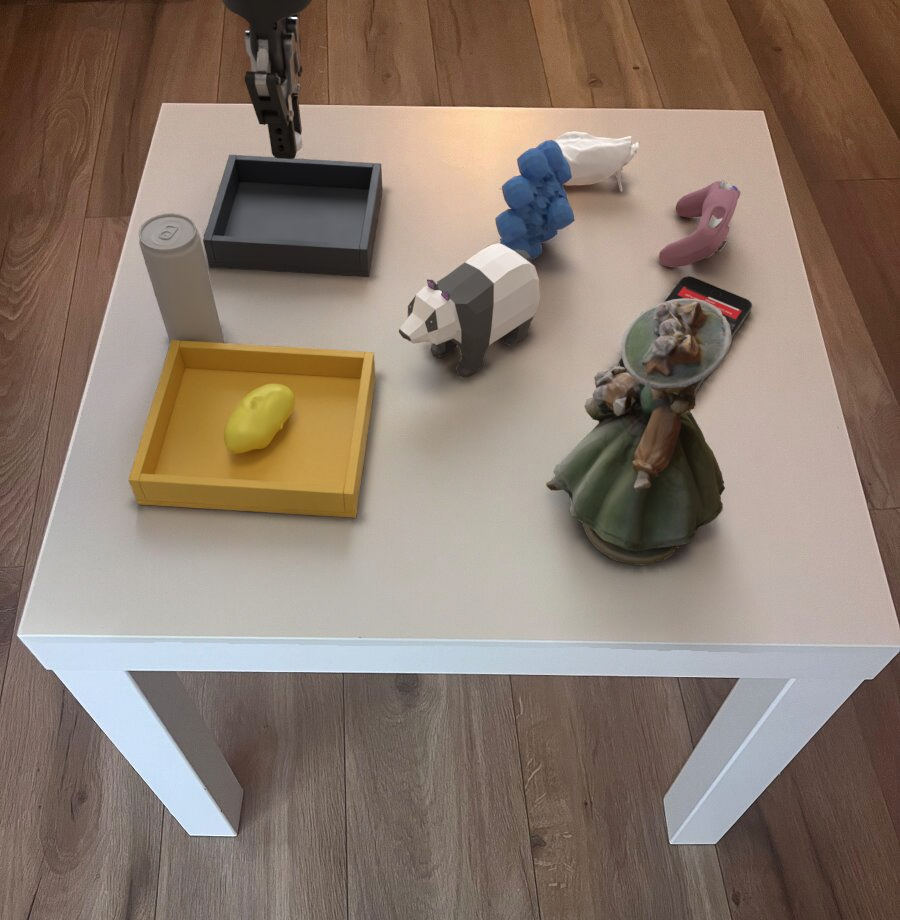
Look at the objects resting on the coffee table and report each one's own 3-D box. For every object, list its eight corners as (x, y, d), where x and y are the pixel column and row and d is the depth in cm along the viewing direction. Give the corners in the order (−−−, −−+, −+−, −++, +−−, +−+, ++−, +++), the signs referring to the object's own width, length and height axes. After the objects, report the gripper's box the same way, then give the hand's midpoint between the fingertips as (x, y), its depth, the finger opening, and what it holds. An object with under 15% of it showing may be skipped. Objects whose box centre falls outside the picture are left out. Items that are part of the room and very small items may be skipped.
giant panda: (499, 301, 87) (507, 213, 79) (541, 332, 85) (554, 244, 77) (383, 375, 82) (379, 288, 74) (425, 409, 80) (425, 324, 71)
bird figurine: (607, 173, 100) (522, 156, 97) (636, 122, 94) (546, 102, 91) (613, 208, 99) (526, 192, 96) (643, 159, 92) (551, 140, 90)
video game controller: (688, 289, 91) (738, 242, 85) (652, 262, 90) (700, 213, 84) (706, 229, 96) (754, 182, 90) (672, 203, 95) (719, 154, 89)
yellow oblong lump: (311, 415, 78) (306, 382, 75) (249, 474, 75) (241, 442, 71) (273, 394, 79) (267, 361, 76) (210, 451, 76) (201, 419, 72)
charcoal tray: (209, 267, 89) (202, 240, 86) (234, 181, 96) (229, 154, 93) (368, 276, 89) (367, 249, 86) (382, 190, 96) (381, 163, 93)
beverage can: (162, 357, 82) (125, 243, 72) (186, 322, 85) (153, 207, 74) (211, 369, 82) (181, 256, 71) (234, 333, 84) (207, 219, 74)
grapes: (536, 307, 87) (551, 194, 77) (476, 280, 89) (483, 166, 78) (593, 242, 92) (614, 127, 82) (535, 218, 94) (549, 103, 84)
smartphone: (755, 302, 87) (689, 399, 80) (752, 308, 87) (687, 404, 81) (685, 273, 89) (615, 365, 82) (683, 279, 89) (613, 371, 82)
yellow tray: (138, 504, 74) (127, 480, 71) (179, 366, 82) (171, 339, 79) (355, 518, 73) (353, 494, 71) (375, 377, 82) (373, 351, 79)
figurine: (549, 423, 79) (583, 222, 62) (711, 439, 79) (791, 241, 62) (539, 561, 72) (574, 375, 55) (719, 580, 71) (812, 398, 54)
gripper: (227, -111, 74) (260, 101, 88) (191, -26, 66) (233, 190, 81) (320, -105, 74) (337, 106, 88) (294, -20, 66) (317, 195, 81)
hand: (287, 145), depth 85 cm, fingers closed on chess pawn, 2 cm apart
